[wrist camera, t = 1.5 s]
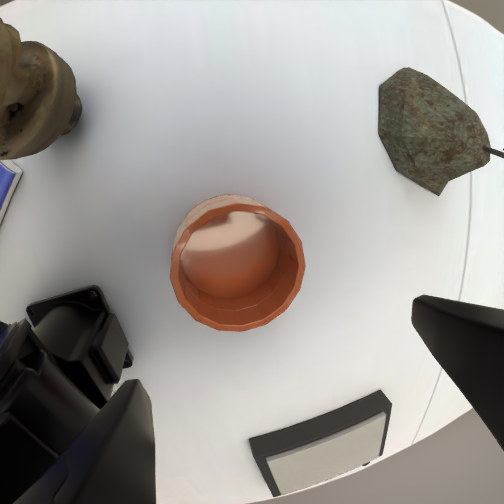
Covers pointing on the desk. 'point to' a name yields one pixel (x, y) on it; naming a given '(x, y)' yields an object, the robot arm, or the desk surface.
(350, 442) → the scale
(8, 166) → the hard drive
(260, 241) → the bowl
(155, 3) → the desk surface
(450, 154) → the sword in stone
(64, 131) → the light bulb
